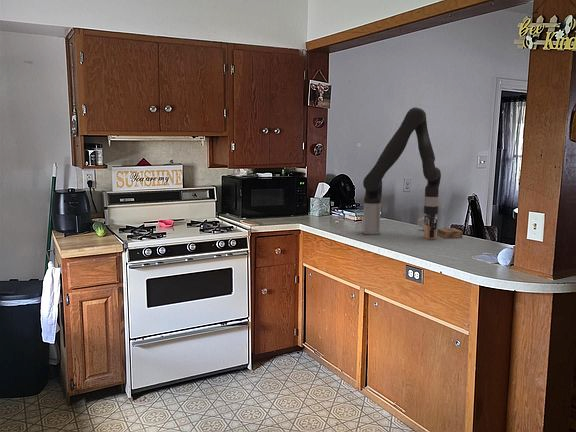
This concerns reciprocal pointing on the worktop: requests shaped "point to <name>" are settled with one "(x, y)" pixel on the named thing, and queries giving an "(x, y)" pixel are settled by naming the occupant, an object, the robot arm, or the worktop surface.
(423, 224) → the cup
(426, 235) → the terracotta block
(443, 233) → the walnut block
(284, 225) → the worktop surface
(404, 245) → the worktop surface
